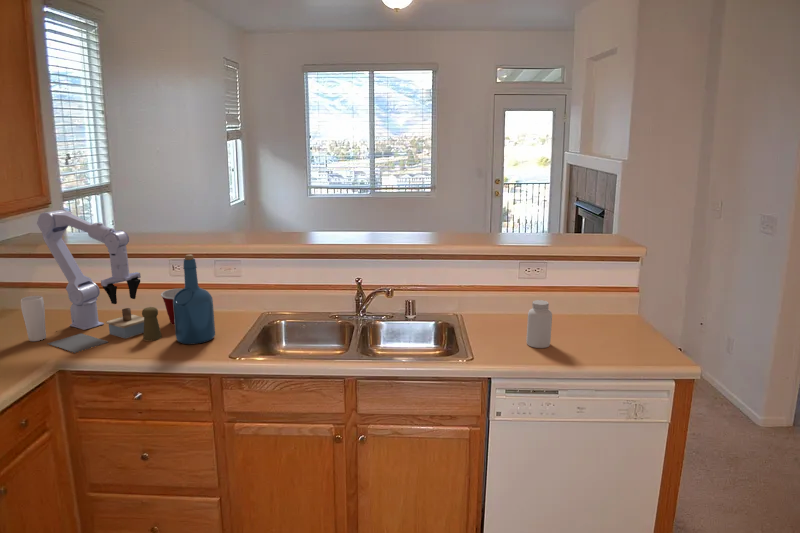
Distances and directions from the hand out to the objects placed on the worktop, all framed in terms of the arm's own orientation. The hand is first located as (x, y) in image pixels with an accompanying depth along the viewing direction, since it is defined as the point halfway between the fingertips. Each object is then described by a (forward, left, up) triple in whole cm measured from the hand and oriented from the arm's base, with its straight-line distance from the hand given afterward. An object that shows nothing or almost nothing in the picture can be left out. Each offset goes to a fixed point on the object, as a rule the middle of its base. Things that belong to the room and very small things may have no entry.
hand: (123, 301), depth 221 cm
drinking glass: (-16, -24, -11) cm, 30 cm away
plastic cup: (+11, +14, -11) cm, 21 cm away
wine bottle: (+31, +5, -11) cm, 33 cm away
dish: (+5, -3, -11) cm, 12 cm away
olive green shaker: (+17, -2, -11) cm, 20 cm away
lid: (+5, -3, -7) cm, 9 cm away
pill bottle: (+135, +62, -11) cm, 149 cm away
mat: (0, -19, -11) cm, 21 cm away
